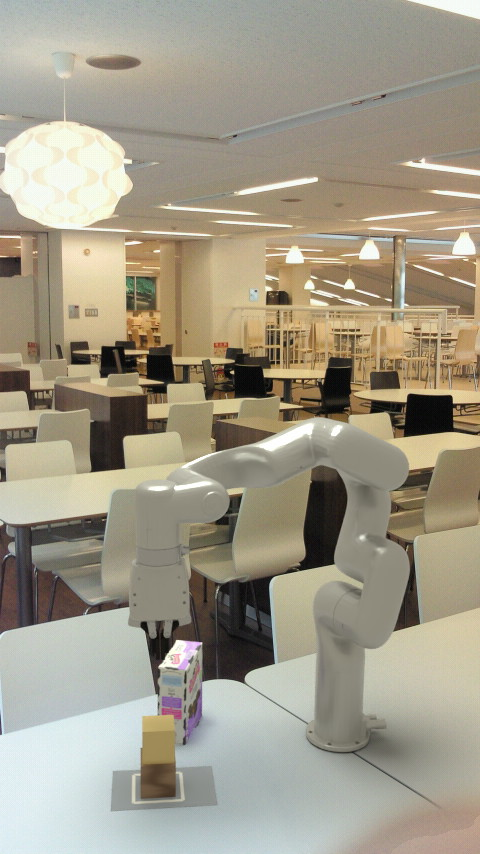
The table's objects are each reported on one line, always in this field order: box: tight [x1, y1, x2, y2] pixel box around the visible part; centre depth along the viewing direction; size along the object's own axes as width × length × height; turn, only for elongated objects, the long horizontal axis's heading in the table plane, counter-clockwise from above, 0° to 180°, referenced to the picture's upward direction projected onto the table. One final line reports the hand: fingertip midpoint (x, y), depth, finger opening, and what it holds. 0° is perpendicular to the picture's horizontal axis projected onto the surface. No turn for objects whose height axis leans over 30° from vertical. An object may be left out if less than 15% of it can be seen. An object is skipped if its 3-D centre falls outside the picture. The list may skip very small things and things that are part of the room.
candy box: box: [157, 639, 203, 746], centre depth 168 cm, size 14×6×16 cm, turn 168°
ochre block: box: [141, 714, 176, 765], centre depth 147 cm, size 6×6×6 cm
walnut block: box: [140, 747, 177, 799], centre depth 147 cm, size 6×6×6 cm
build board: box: [110, 765, 219, 812], centre depth 148 cm, size 18×12×1 cm, turn 97°
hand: (160, 656), depth 144 cm, fingers closed
